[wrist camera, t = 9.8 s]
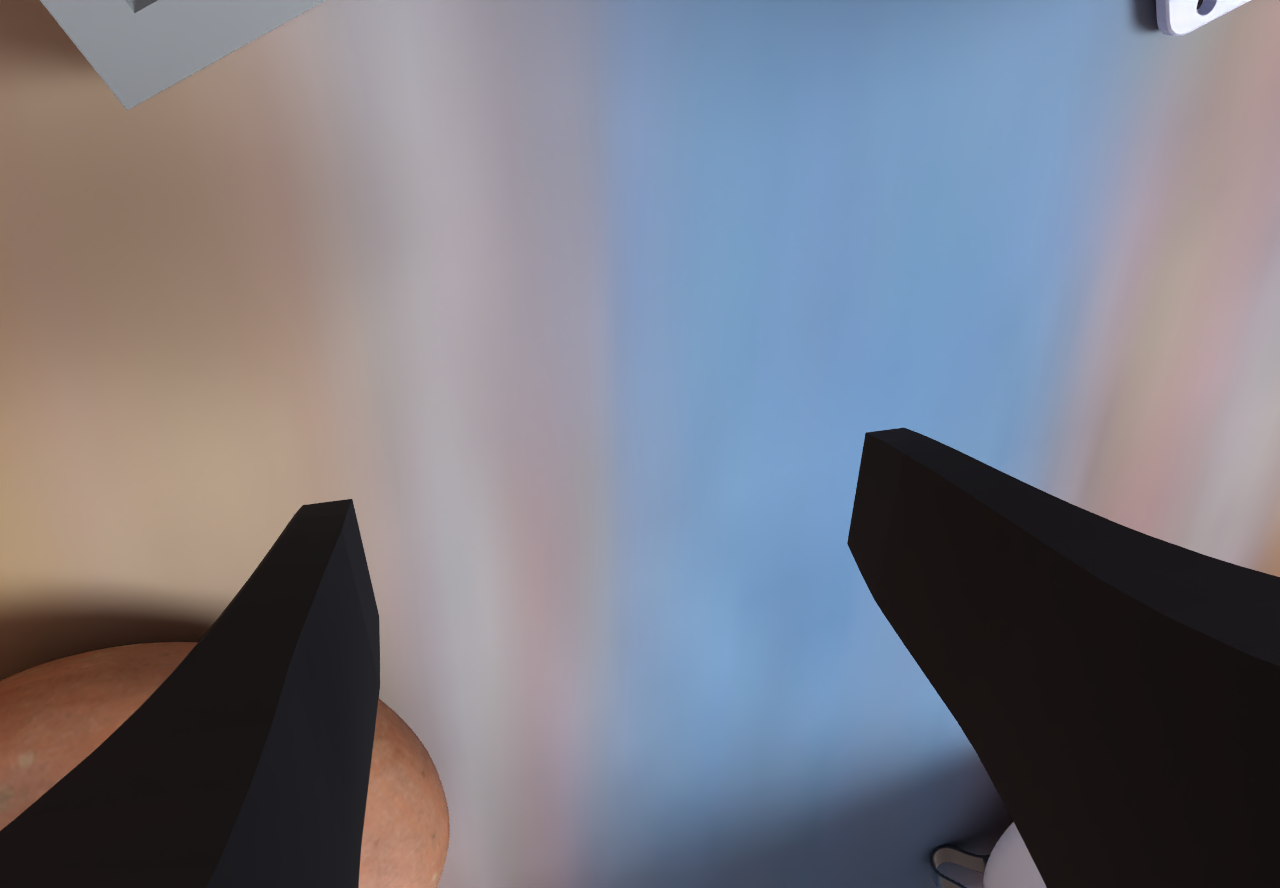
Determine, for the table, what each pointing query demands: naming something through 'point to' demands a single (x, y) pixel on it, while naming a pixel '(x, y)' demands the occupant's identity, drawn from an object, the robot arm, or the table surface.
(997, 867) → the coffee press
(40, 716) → the ceramic jug
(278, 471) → the table surface
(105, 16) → the slate box
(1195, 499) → the table surface
